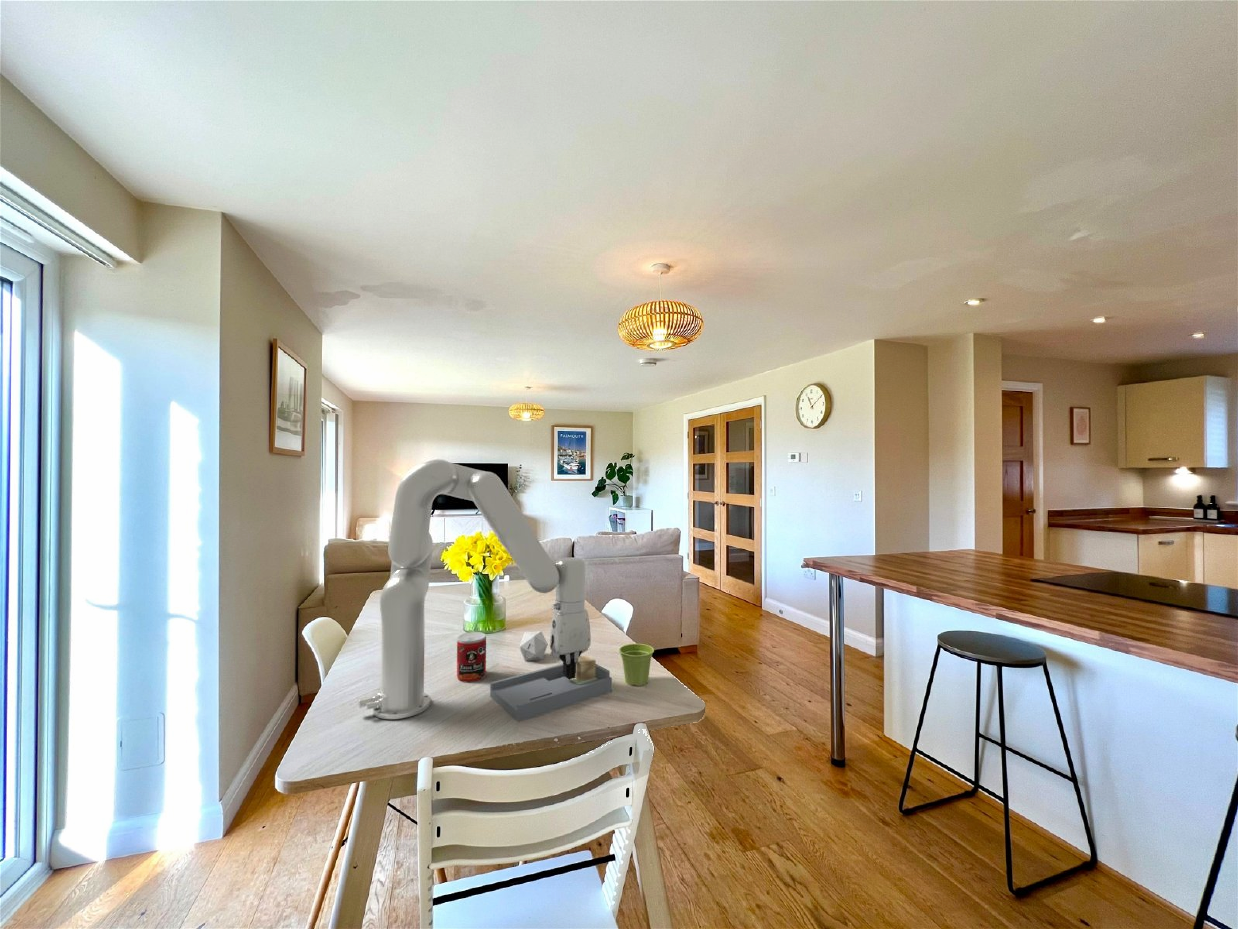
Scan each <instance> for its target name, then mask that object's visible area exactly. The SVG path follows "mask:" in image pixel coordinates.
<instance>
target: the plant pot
mask: <svg viewBox="0 0 1238 929" xmlns="http://www.w3.org/2000/svg"><path fill="white" fill-rule="evenodd" d="M618 652H619V653H620V657H621V660H622V667H623V674H624V680H625V683H626V684H627V685H629V686H637V687H640V686H644V685H646V684H647V683H648V682H649V678H650V677H649V676H650V669H651V660H652V657H653V653H654V652H655V649H654V647H652V646H651V645H648V644H645V643H628V644H624V645H621V646H620V647H619V648H618Z"/></svg>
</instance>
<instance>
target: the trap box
mask: <svg viewBox="0 0 1238 929" xmlns="http://www.w3.org/2000/svg"><path fill="white" fill-rule="evenodd" d="M582 656H583V655H580V656H579V657H582ZM610 674H611V673H610V670H609V669H607V668H605V667H603V666H601V665H599V664H597V663H596V678H592V679H589V680H585V681H582V682H581V681H579V680H578V679H576V678H574V679H573V678H572V679H570V680H569V679H568V678H566V677H564V675H563V663H560V664H559V663H558V664H556V665H553V666H549V667H545V668H541V669H537V670H533V671H529V672H526V673H522V674H518V675H514V676H510V677H507V678H502V679H499V680H495V681H490V683H489V684H490V685H489V687H490V688H489V697H490V698H491V699H492V700H493V701H494V702H496V704H498V705H499V706H500V707H502V709H504V710H505V711H506V712H507V713H508V714H510V716H512V717H513V718H514V719H516V720H517V722H519V723H520V722H522V721H526V720H529V719H531V718H536V717H538V716H540V715H544V714H548V713H551V712H554V711H557V710H559V709H563V708H566V707H569V706H572V705H575V704H578V703H582V702H585V701H587V700H591V699H593V698H598V697H600V696H604V695H606V694H608V693H612V690H613V678H612V677H611V676H610Z"/></svg>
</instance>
